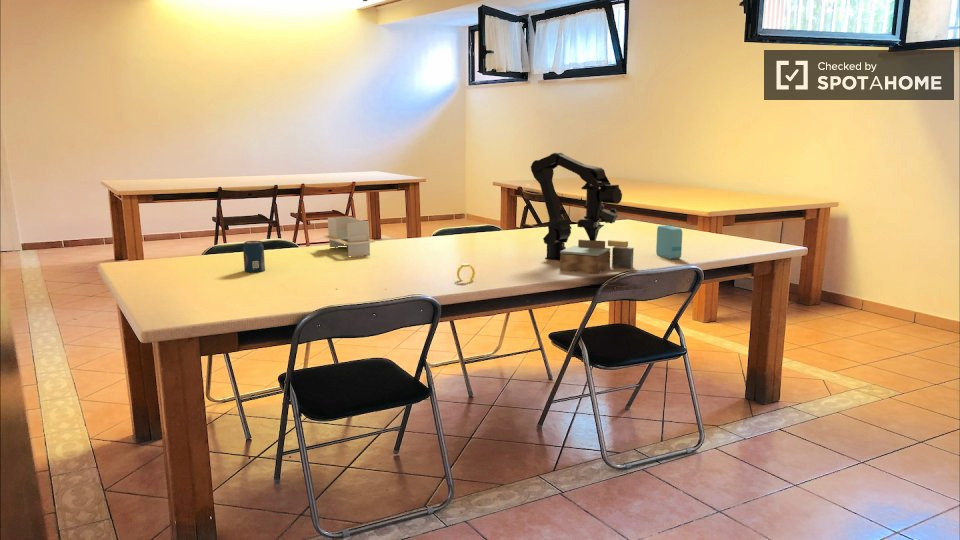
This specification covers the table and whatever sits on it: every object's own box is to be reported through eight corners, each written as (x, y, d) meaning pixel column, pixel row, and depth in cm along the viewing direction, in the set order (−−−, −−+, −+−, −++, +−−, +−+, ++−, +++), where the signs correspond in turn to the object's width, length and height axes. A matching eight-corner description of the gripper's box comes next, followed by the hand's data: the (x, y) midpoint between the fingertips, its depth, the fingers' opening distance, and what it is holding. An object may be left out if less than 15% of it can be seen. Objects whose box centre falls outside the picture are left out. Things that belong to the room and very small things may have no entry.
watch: (472, 279, 246) (472, 262, 245) (475, 281, 244) (475, 264, 243) (456, 281, 244) (455, 264, 243) (459, 282, 241) (458, 265, 240)
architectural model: (323, 253, 306) (322, 217, 303) (352, 250, 312) (351, 215, 309) (345, 262, 284) (343, 224, 281) (376, 259, 290) (374, 222, 288)
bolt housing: (612, 266, 268) (612, 247, 267) (614, 265, 271) (615, 246, 269) (630, 268, 265) (631, 249, 263) (632, 267, 267) (633, 247, 266)
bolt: (607, 246, 268) (607, 240, 268) (609, 245, 270) (609, 239, 269) (626, 247, 265) (626, 241, 264) (627, 246, 266) (628, 241, 266)
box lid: (560, 253, 261) (560, 244, 260) (574, 247, 273) (574, 239, 272) (597, 256, 254) (597, 246, 253) (610, 250, 266) (610, 241, 266)
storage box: (560, 270, 262) (560, 254, 261) (574, 264, 274) (574, 248, 273) (597, 273, 255) (597, 257, 254) (609, 267, 267) (610, 251, 266)
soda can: (243, 274, 258) (241, 241, 256) (264, 272, 261) (262, 239, 259) (246, 277, 252) (243, 243, 250) (266, 276, 255) (264, 242, 253)
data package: (681, 259, 283) (682, 228, 281) (670, 259, 282) (672, 229, 280) (665, 254, 295) (667, 225, 292) (655, 254, 294) (657, 225, 291)
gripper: (607, 205, 255) (606, 249, 258) (623, 200, 271) (621, 242, 274) (577, 204, 260) (576, 247, 263) (594, 199, 277) (593, 240, 280)
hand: (593, 244), depth 270 cm, fingers closed
